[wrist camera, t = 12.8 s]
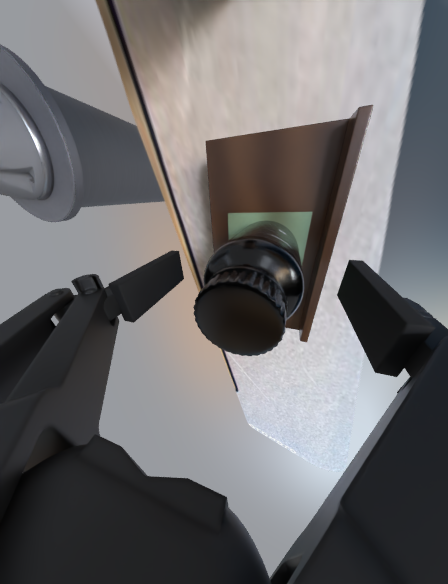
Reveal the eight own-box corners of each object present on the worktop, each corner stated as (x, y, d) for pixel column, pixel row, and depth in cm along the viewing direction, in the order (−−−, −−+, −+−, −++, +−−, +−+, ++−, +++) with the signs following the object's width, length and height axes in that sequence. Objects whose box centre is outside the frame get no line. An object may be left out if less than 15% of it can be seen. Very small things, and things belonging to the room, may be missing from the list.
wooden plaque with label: (228, 298, 29) (213, 324, 24) (223, 151, 19) (195, 134, 14) (303, 309, 26) (307, 342, 20) (343, 136, 16) (374, 104, 10)
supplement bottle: (313, 253, 17) (348, 339, 7) (263, 292, 21) (239, 382, 11) (265, 203, 16) (227, 220, 6) (222, 253, 20) (157, 312, 10)
